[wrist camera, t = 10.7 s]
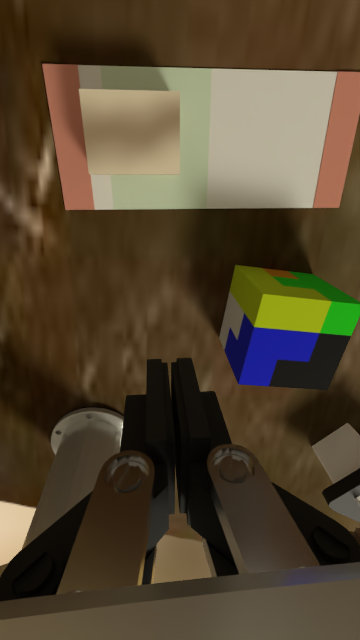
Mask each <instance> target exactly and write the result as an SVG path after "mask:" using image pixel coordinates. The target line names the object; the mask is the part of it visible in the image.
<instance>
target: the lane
mask: <svg viewBox="0 0 360 640" xmlns="http://www.w3.org/2000/svg"><path fill="white" fill-rule="evenodd" d="M78 74H79V82H80V89H107V90H148V91H180V174H179V175H95V174H90V175H91V183H92V191H93V200H94V208H95V210H103V209H226V208H313V204H314V199H315V193H316V188H317V182H318V177H319V171H320V166H321V160H322V155H323V149H324V144H325V138H326V133H327V127H328V122H329V116H330V111H331V105H332V100H333V94H334V89H335V83H336V78H337V72H324V71H286V70H247V69H209V68H170V67H132V66H93V65H78Z"/></svg>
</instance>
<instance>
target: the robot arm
mask: <svg viewBox="0 0 360 640" xmlns="http://www.w3.org/2000/svg"><path fill="white" fill-rule="evenodd" d="M51 446H52V450H53V451H54V453H55V458H54V461H53V464H52V467H51V469H50V472H49V475H48V478H47V480H46V483H45V486H44V489H43V492H42V494H41V497H40V500H39V503H38V506H37V508H36V511H35V514H34V517H33V519H32V522H31V525H30V528H29V531H28V533H27V536H26V540H25V542H24V545H23V547H22V550H21V551H20V552H19V553H18V554H17V555H16V556H15V557H14V558H13V559H12V560H11V561H10V562H9V563H8V564H5V565H2V566H0V640H360V528H356V529H355V531H354V532H352V531H348V530H347V529H346V528H345V527H343V526H342V525H341V524H339V523H338V522H336V521H335V520H333V519H332V518H330V517H328V516H327V515H325V514H323V513H322V512H320V511H318V510H317V509H315V508H314V507H312V506H310V505H309V504H307V503H305V502H304V501H302V500H300V499H299V498H297V497H296V496H294V495H292V494H291V493H289V492H287V491H286V490H284V489H282V488H281V487H279V486H277V485H276V484H274V483H273V482H271V481H270V479H269V478H268V476H267V474H266V472H265V471H264V469H263V467H262V466H261V464H260V462H259V461H258V459H257V458H256V457H255V455H254V454H253V453H252V452H250V451H249V450H248V449H246V448H244V447H242V446H239V445H235V444H232V442H231V439H230V436H229V433H228V430H227V427H226V424H225V421H224V418H223V415H222V412H221V409H220V406H219V403H218V400H217V397H216V394H215V392H214V391H207V392H200V390H199V386H198V382H197V378H196V374H195V370H194V366H193V362H192V359H191V358H177V362H172V363H171V395H170V386H169V376H168V366H167V363H162V361H161V359H148V360H147V391H146V395H127V396H126V402H125V411H124V417H123V416H122V415H120V414H119V413H116V412H114V411H112V410H108V409H104V408H96V407H94V408H82V409H78V410H75V411H72V412H70V413H68V414H66V415H65V416H63V417H62V418H61V419H60V420H59V421H58V422H57V424H56V425H55V427H54V429H53V432H52V435H51ZM175 468H176V478H177V489H178V500H179V510H180V513H186V515H187V523H188V525H191V528H193V529H194V530H195V531H196V532H197V533H198V534H200V535H201V536H202V542H203V547H204V551H205V554H206V558H207V561H208V564H209V568H210V571H211V575H212V577H211V578H202V579H193V580H183V581H174V582H165V583H157V584H153V580H154V571H155V562H156V554H157V543H158V542H159V540H160V539H161V538H162V537H163V535H164V534H165V533H166V532H167V531H168V529H169V514H174V511H175Z"/></svg>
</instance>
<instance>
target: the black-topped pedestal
mask: <svg viewBox="0 0 360 640" xmlns="http://www.w3.org/2000/svg"><path fill="white" fill-rule="evenodd" d="M311 447H312V448H313V450H314V452H315V454H316V455H317V457H318V459H319V460H320V462H321V464H322V465H323V467H324V469H325V471H326V472H327V474H328V476H329V477H330V479H331V481H332V482H333V485H331V486H329V487H328V488H326V489H324V490H323V492H322V494H323V496H324V498H325V500H326V501H327V503H328V505H329V507H330V508H332V509H333V510H334V511H336V512H338V513H340V514H342V515H344V516H347V517H349V518H351V519H353V520H356V521H358V522H360V435H359V434H358V433H357V432H356V431H355V430H354V429H353V428H352V427H351V426H350V425H349V423H346V424H345V425H343V426H342V427H340V428H339V429H337V430H336V431H334V432H333V433H331V434H330V435H328V436H327V437H325V438H324V439H322V440H321V441H319V442H318V443H316V444H314V445H313V446H311Z"/></svg>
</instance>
